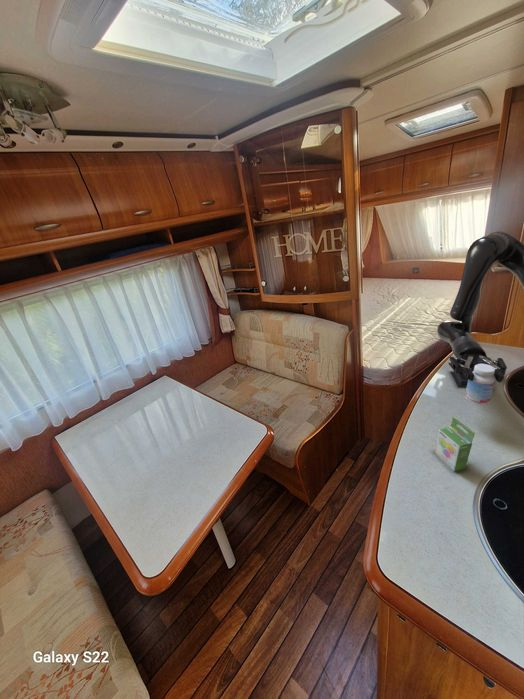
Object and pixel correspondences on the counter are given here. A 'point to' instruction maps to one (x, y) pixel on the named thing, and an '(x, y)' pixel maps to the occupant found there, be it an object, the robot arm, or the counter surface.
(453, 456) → the ink box
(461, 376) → the socket pad
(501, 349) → the counter surface
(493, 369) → the pill bottle
